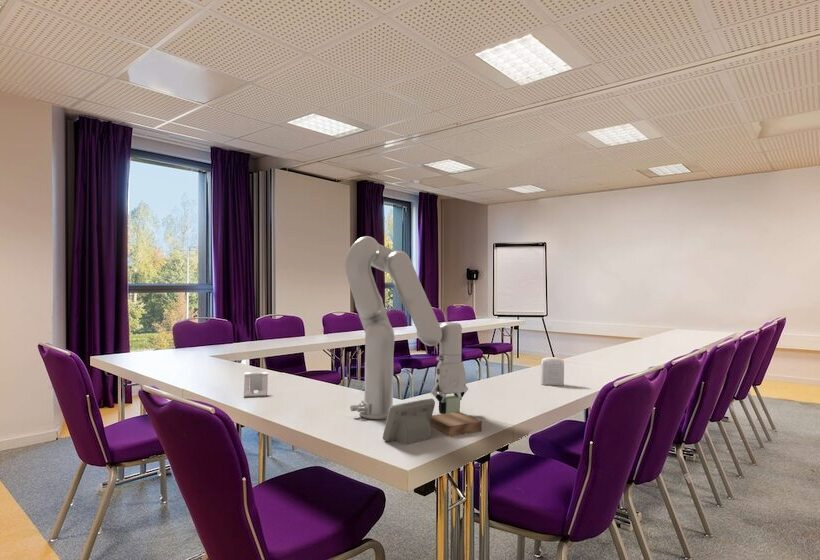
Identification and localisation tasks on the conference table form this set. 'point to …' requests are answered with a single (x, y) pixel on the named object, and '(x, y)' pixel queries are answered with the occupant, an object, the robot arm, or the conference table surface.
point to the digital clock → (409, 421)
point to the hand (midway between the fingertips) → (449, 411)
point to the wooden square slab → (455, 423)
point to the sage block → (452, 403)
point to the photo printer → (552, 371)
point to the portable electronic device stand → (255, 384)
